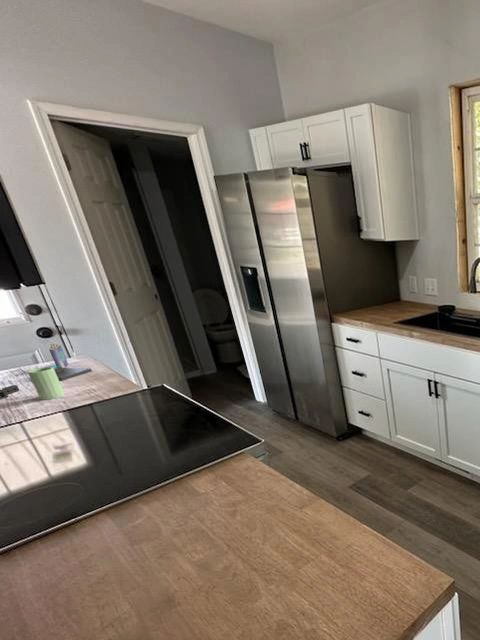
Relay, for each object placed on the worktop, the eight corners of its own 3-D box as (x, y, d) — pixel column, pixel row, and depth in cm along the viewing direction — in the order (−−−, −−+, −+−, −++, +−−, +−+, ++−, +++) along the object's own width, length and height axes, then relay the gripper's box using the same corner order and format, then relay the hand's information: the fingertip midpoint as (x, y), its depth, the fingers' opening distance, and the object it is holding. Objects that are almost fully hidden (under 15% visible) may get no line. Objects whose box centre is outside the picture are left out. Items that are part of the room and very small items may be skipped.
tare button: (45, 370, 164) (43, 366, 163) (53, 368, 166) (51, 364, 166) (51, 370, 163) (49, 366, 163) (59, 368, 166) (57, 364, 165)
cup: (35, 399, 142) (22, 372, 138) (54, 393, 148) (43, 366, 144) (50, 400, 141) (37, 372, 138) (69, 393, 147) (58, 367, 143)
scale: (32, 380, 161) (29, 373, 160) (63, 370, 171) (60, 364, 170) (62, 380, 160) (59, 373, 158) (92, 371, 170) (89, 364, 169)
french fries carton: (65, 369, 173) (54, 344, 169) (55, 370, 172) (44, 345, 168) (69, 363, 180) (59, 340, 176) (60, 365, 178) (49, 341, 175)
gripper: (-51, 396, 115) (19, 376, 130) (-93, 395, 117) (-19, 376, 132) (-38, 420, 118) (30, 398, 133) (-79, 419, 119) (-8, 397, 134)
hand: (5, 387), depth 132 cm, fingers open, 8 cm apart
